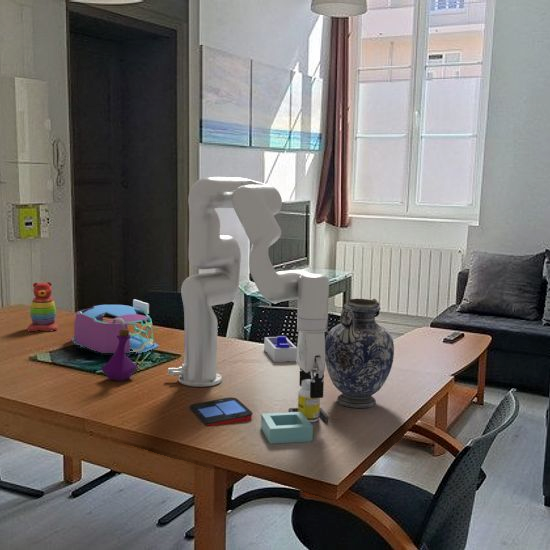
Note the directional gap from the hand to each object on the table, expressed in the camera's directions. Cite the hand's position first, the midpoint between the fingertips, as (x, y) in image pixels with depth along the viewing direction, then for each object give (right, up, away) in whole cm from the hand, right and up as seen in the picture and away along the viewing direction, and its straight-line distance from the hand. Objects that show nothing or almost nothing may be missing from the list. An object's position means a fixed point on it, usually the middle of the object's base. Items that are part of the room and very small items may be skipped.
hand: (311, 391), depth 168 cm
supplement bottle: (-1, -7, +1) cm, 8 cm away
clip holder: (-7, +2, +61) cm, 61 cm away
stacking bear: (-97, +8, +89) cm, 132 cm away
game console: (-23, -7, +3) cm, 24 cm away
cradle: (-1, -7, +1) cm, 7 cm away
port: (-6, -8, -9) cm, 14 cm away
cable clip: (-7, +1, +60) cm, 60 cm away
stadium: (-65, +4, +70) cm, 96 cm away
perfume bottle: (-54, -2, +29) cm, 62 cm away
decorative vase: (+13, -6, +15) cm, 21 cm away
